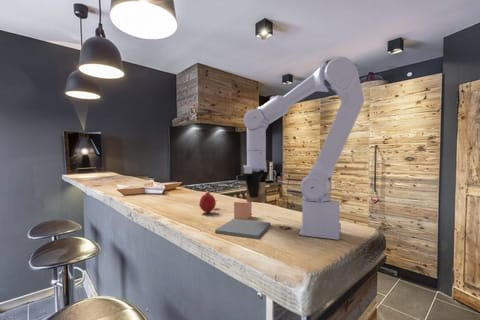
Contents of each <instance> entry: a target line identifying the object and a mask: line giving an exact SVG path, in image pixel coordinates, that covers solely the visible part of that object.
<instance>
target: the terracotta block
mask: <svg viewBox="0 0 480 320" xmlns="http://www.w3.org/2000/svg"><path fill="white" fill-rule="evenodd" d="M252 216H253V215H252V202H247V199H238V200H235V201H233V219H235V218H236V219H242V220H245V219H247V220H248V218H249V219H251V218H252Z"/></svg>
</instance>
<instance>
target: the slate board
mask: <svg viewBox="0 0 480 320" xmlns="http://www.w3.org/2000/svg"><path fill="white" fill-rule="evenodd" d="M271 224H272V223H271V222H269V221H268V222H267V221H260V220H259V221H258V220H252V219H251V220H250V219H249V220H248V219H247V220H245V219H235V218H232V219H230V220H229V221H228V222H226V223H224V224H223V225H220V226H219V227H217V228H216V229H215V230H214V232H215V233H214V234H220V235H228V236H236V237H242V238H249V239H257V240H258V239H260V238H261V236H263V234H264V233H265V232H266V231H267V230H268V229H269V228H270V227H271Z"/></svg>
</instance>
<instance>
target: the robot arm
mask: <svg viewBox="0 0 480 320" xmlns="http://www.w3.org/2000/svg"><path fill="white" fill-rule="evenodd" d="M329 88H330V89H331V90H332V91H333V92H334V94H336V95H337V96H338V98H339V101H340V102H341V103H340V105H339V108H338V110H337V112H336V115H335V118H334V119H333V122H332V124H331V126H330V128H329V131H328V133H327V136H326V138H325V140H324V141H323V144H322V148H321V150H320V152H319V154H318V157H317V159H316V160H315V162H314V163H313V166H312V167H311V169H310V170H309V173H307V175H306V176H305V177H304V178H302V179H301V182H300V184H299V188H300V189H299V190H300V193H301V194H302V198H301V199H302V201H301V206H302V209H301V211H302V214H301V215H302V218H301V219H302V220H301V221H302V226H301V228H300V231H299V233H298V235H299V236H306V237H313V238H322V239H329V240H331V239H332V240H340V231H341V229H342V228H341V227H342V225H341V224H342V223H341V222H340V201H339V200H333V199H332V197H331V196H330V195H329V192H330V191H331V189H332V177H333V176H334V171H335V169H336V166H337V163H338V161H339V159H340V156H341V155H342V152H343V150H344V148H345V145H346V143H347V142H348V139H349V137H350V134H351V133H352V130H353V128H354V126H355V125H356V124H355V123H356V122H357V120H358V118H359V114H360V112H361V110H362V108H363V106H364V102H365V96H364V91H363V88H362V83H361V81H360V76H359V71H358V68H357V67H356V66H355V64H354V63H353V62H352V60H351V59H350V58H349V57H346V56H341V55H340V56H337V57H334V58H332V59H330V60H329V61H328V62H327V63H325V64H323V65H320V66H319V68H318V69H316V70H315V71H314V73H312V74H311V75H310V76H309V77H307V78H305V80H303V81H302V82H300V83H299V84H297V85H296V86H295V87H294V88H292V89H291V90H289V91H288V92H287V93H286V94H285V95H276V96H274V95H272V96H271V97H270V98H269V100H268V101H267V102H265V103H264V104H262V105H261V106H260V105H259V106H257V107H256V109H255V108H254V109H253V108H251V109H249V110H247V112H246V113H245V114H244V116H243V124H244V126H245V128H246V165H245V164H244V165H243V166H242V167H243V169H244V170H243V171H244V172H242V177H243V179H244V181H245V184H246V188H247V187H248V191H249V195H250V197H254V198H257V196H258V190H259V183H260V182H267V179H268V177H269V174H270V171H267V160H266V159H267V158H266V157H267V155H266V154H267V149H266V148H267V143H266V142H267V139H266V138H267V136H266V134H267V133H266V132H267V131H266V130H267V129H268V127H269V125H270V124H272V123H273V122H275V121H277V120H279V118H281V117H283V116H284V115H286V114H287V113H289V109H290V107H291V106H293V105H294V104H296V103H299V101H300V102H301V100H303V99H305V98H307V97H308V96H311V95H312V94H314V93H316V92H324V93H329Z"/></svg>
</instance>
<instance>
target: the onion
mask: <svg viewBox="0 0 480 320" xmlns="http://www.w3.org/2000/svg"><path fill="white" fill-rule="evenodd" d="M216 204H217V202H216V198H215V197H214V196H213V195H212V194H211V193H210V191H209V190H207V191H206V192H205V193H204V194H203V195H202V196H201V198H200V200H199V207H200V210H202V211H203V212H205V213H206V214H210V213H211V212H212V211H213V210H214V209H215V208H216Z"/></svg>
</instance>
